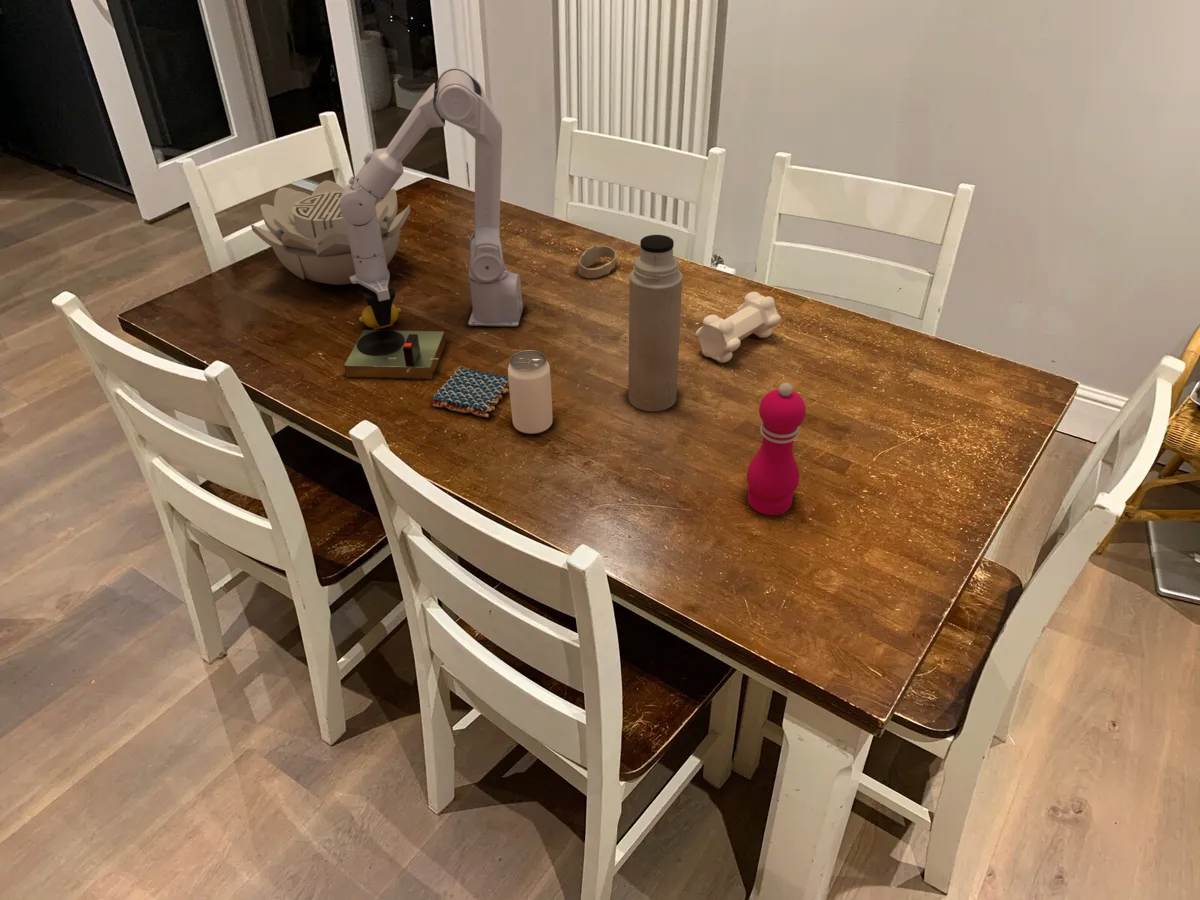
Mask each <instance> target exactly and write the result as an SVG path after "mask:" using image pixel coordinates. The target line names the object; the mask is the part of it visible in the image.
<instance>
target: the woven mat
mask: <svg viewBox="0 0 1200 900" xmlns="http://www.w3.org/2000/svg"><path fill="white" fill-rule="evenodd" d="M472 370H473V368H471V367H470V368H465V369H464V366H460V368H458V370H455V371H454V374H453V375H452V376H451V375H450V376H449V379H448V380H446V381H445V382H446V383H444V384H443V385H441V387H440V389H437V392H436V393H435V394H433V401H432V406H433V407H435V408H436V407H437V408H446V409H448V410H449V411H454V412H458V413H463V414H467V413H468V414H473V415H475V416H478V417H482V418H487V419H489V417H490V414H489V413H491V412H492V411H495V409H496V407H495V406H496V405H497V404H498V402H499V400H502V399H503V394H506V393H510V391H509V379H508V377H507V378H506V374H502V375H498V373H497V372H494V374H493V373H490V374H489V371H485V372H484V371H483V372H481V369H477V370H473V371H472ZM480 372H481V373H480Z"/></svg>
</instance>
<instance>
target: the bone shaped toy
mask: <svg viewBox="0 0 1200 900" xmlns="http://www.w3.org/2000/svg"><path fill="white" fill-rule="evenodd" d="M781 320H782V316H781V315H780V314H779V313H778V310H777V307H776V302H775V299H774V297H772V296H769V295H768V296H764V295H762V294H760V293H759V292H757V291H750V292H748V293H746V295H745V296H744V302H743V303H742V304H740V305H739V306H738V307H737V308H736V312H735V313H733V314H731V315H729V316H728V317H726V318H725V319H723V318H721V317H719V316H718V315H717V314H709V315H706V316H705V317H704V318H703V320H702V326H700V327H699V328H698V329H697V330H696V332H695V334H694V335H695V338H696V340H697V339H698V343H699V346H700V348H701V354H702V355H703V356H704V357H706V358H711V359H712V360H715V361H717V362H718V363H722V364H723V363H727V362H729V361H731V360H732V358H733V352H735V351H737V350H738V349H739V347H740V346H741V341H743V340H744V339H745V338H747V337H749V336H750V335H752V334H753V335H756V336H757V337H758V338H761V339H766V338H768V337H770V336H771V335H772V333H773V328H774V327H776V326H777V325H779V324H780V322H781Z"/></svg>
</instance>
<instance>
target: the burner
mask: <svg viewBox="0 0 1200 900" xmlns="http://www.w3.org/2000/svg"><path fill="white" fill-rule="evenodd" d="M395 331H396V330H387V329H386V330H383V329H382V331H376V332H372V333H369V334H367V335H365V336H363V337H362V338H361V339H360V340H359V341H358V340H357V341H358V343H357V342H356V343H357V348H358V350H359V351H360V352H361V353H363V354H366V355H371V356H380V355H386V354H390V353H393V352H395V351H397V350H399V349H400V348H401V347H402V346H403V345H404V343H405V338H404V336H403V335H402V334H400V333H398V332H395Z"/></svg>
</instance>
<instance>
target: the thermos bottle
mask: <svg viewBox="0 0 1200 900" xmlns="http://www.w3.org/2000/svg"><path fill="white" fill-rule="evenodd" d="M639 244H640V246H639V247H640V251H639V255H638V256H637V257H636V258H635V259H634V262H633V263H634V264H633V267H632V270H631V271H630V273H629V280H628V281H629V285H628V286H629V288H628V289H629V297H628V298H629V299H628V300H629V302H628V303H629V305H628V306H629V307H628V385H627V386H628V389H627V390H628V392H627V395H628V396H627V399H628V401H629V403H630V404H631V405H632V406H633V407H635V408H636V409H639V410H642V411H646V412H660V411H665V410H667V409H669V408H671V407H672V406H673V405H674V404H675V403H676V401H677V395H678V394H677V392H678V374H679V373H678V372H679V356H680V355H679V353H680V335H681V317H682V316H681V315H682V314H681V313H682V297H683V296H682V294H683V293H682V292H683V274H682V272H681V271H680V270H679V269H680V264H679V260H678V258H677V257H675V255H674V247H675V246H674V244H675V241H674V240H673V238H671V237H670V236H668V235H663V234H649V235H645V236H643V237H642V238H640V243H639Z"/></svg>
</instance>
